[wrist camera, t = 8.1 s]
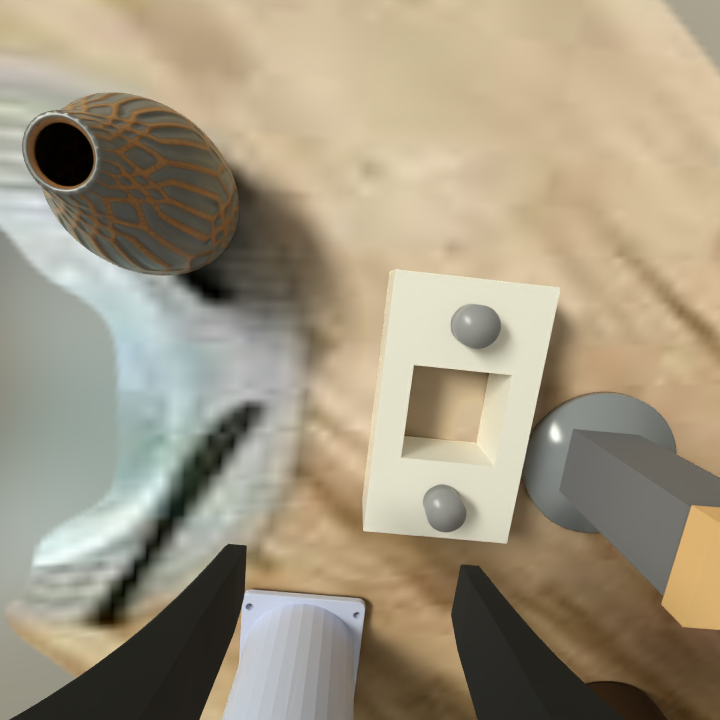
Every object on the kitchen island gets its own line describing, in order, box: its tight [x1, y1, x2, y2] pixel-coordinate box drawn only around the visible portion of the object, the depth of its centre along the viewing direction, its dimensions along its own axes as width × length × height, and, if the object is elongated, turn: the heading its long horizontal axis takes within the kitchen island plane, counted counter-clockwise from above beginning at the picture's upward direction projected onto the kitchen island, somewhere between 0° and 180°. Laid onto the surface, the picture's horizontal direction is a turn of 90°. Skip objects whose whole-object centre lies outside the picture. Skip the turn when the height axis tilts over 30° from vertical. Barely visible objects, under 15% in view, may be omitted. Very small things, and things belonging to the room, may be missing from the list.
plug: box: [559, 429, 720, 630], centre depth 18 cm, size 4×4×9 cm
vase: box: [22, 93, 239, 275], centre depth 15 cm, size 7×7×9 cm
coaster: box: [522, 392, 676, 533], centre depth 23 cm, size 9×9×1 cm
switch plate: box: [362, 269, 561, 544], centre depth 20 cm, size 14×8×4 cm, turn 174°
